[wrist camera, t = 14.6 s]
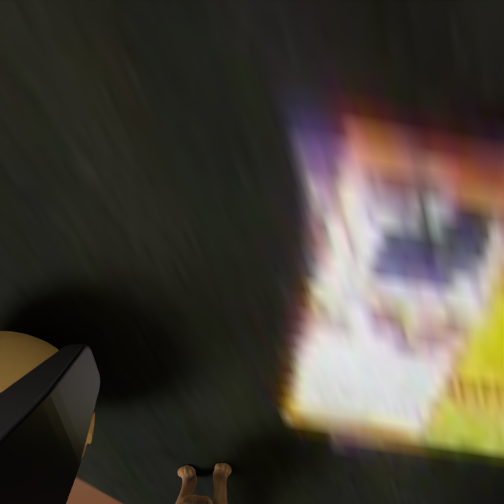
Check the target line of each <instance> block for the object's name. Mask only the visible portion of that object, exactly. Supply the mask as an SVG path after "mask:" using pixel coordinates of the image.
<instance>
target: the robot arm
mask: <svg viewBox="0 0 504 504" xmlns="http://www.w3.org/2000/svg"><path fill="white" fill-rule="evenodd" d="M99 388H100V375H99V372H98V368H97V365H96V362H95V359H94V356H93V353H92V351H91V348H90V347H89V346H88V345H85V344H80V345H66V346H64V347H63V348H61V349H60V350H59V351H57V352H56V353H54V354H53V355H52V356H50V357H49V358H48V359H46V360H45V361H43V362H42V363H41V364H39V365H38V366H37V367H35V368H34V369H33V370H31V371H30V372H28V373H27V374H26V375H24V376H23V377H22V378H20V379H19V380H17V381H16V382H15V383H13V384H12V385H11V386H9V387H8V388H6V389H5V390H4V391H2V392H1V393H0V504H66V502H67V500H68V496H69V494H70V491H71V488H72V486H73V483H74V480H75V478H76V475H77V472H78V469H79V466H80V463H81V459H82V456H83V452H84V448H85V444H86V440H87V436H88V432H89V428H90V424H91V420H92V416H93V412H94V408H95V404H96V400H97V396H98V392H99Z"/></svg>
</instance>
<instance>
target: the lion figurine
mask: <svg viewBox="0 0 504 504" xmlns="http://www.w3.org/2000/svg"><path fill="white" fill-rule="evenodd" d="M230 474H231V467H230V466H229V465H228V464H226V463H217V464H216V466H215V469H214V472H213V482H214V496H213V500H212V501H211V500H210V498H209V497H208V496H200V495H196V494H194V495H192V494H193V492H194V489H195V487H196V483H197V476H196V473H195V469H194V468H193V467H192V466H188V465H185V466H182V467H181V468H180V469H178V475H179V476H180V477H182V479H183V484H182V489H181V492H180V495H179V497H178V499H177V502H176V504H227V489H226V481H227V477H228V476H229V475H230Z"/></svg>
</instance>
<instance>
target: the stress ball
mask: <svg viewBox="0 0 504 504" xmlns="http://www.w3.org/2000/svg"><path fill="white" fill-rule="evenodd" d="M57 351H59V350H58V349H57V348H56V347H54V346H52V345H51V344H49V343H48V342H45V341H43V340H41V339H39V338H36V337H33V336H30V335H27V334H23V333H17V332H11V331H0V393H1V392H2V391H4V390H5V389H6V388H8V387H9V386H11V385H12V384H13V383H15V382H16V381H17V380H19V379H20V378H22V377H23V376H24V375H26V374H27V373H28V372H30V371H31V370H33V369H34V368H35V367H37V366H38V365H39V364H41V363H42V362H43V361H45V360H46V359H48V358H49V357H50V356H52V355H53V354H54V353H56V352H57ZM94 419H95V413H93V416H92V420H91V424H90V428H89V432H88V436H87V440H86V444H85V448H86V445H87V443H91V441H92V437H93V429H94ZM85 448H84V451H85ZM83 455H84V452H83ZM82 457H83V456H82Z"/></svg>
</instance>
